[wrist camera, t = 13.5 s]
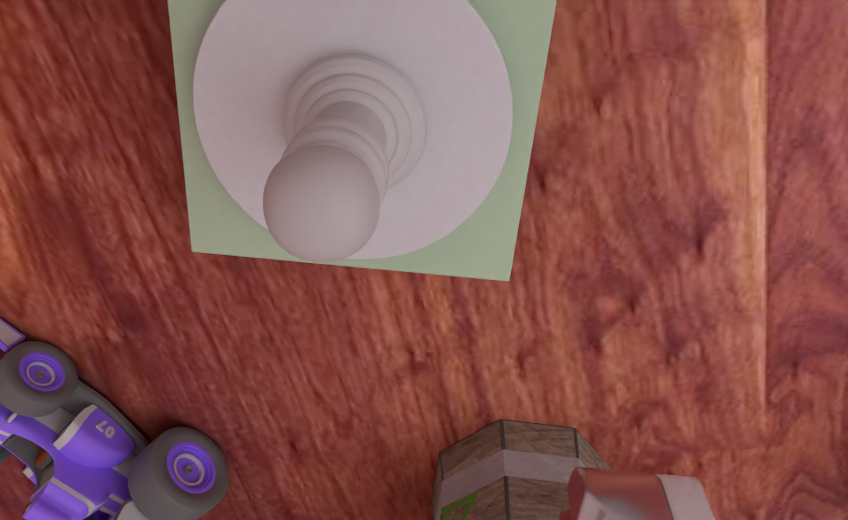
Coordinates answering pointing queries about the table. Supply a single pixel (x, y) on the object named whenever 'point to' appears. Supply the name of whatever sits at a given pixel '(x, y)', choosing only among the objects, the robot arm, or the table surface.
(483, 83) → the scale
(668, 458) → the table surface
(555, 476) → the mug
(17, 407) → the toy race car
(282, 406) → the table surface
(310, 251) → the chess piece
